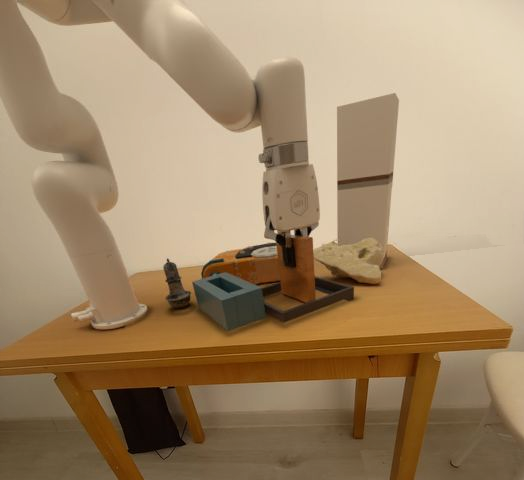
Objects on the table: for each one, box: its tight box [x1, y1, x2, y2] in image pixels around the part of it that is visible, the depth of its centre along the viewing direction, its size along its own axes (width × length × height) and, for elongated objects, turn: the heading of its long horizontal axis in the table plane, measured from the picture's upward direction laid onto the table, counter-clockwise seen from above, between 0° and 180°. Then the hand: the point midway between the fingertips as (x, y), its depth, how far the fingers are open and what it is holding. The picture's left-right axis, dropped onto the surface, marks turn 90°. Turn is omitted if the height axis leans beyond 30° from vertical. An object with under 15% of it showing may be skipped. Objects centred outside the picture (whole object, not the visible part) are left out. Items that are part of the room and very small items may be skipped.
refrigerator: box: [336, 92, 400, 270], centre depth 73 cm, size 11×11×35 cm
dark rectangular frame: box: [261, 275, 355, 323], centre depth 63 cm, size 18×16×3 cm
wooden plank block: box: [275, 234, 317, 304], centre depth 60 cm, size 10×2×12 cm, turn 31°
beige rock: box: [313, 238, 384, 285], centre depth 71 cm, size 15×7×15 cm
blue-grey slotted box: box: [191, 272, 267, 332], centre depth 61 cm, size 8×16×7 cm, turn 31°
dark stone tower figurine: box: [162, 257, 192, 310], centre depth 66 cm, size 6×6×12 cm
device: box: [200, 242, 280, 285], centre depth 83 cm, size 23×8×30 cm
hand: (295, 264), depth 60 cm, fingers closed on wooden plank block, 1 cm apart
